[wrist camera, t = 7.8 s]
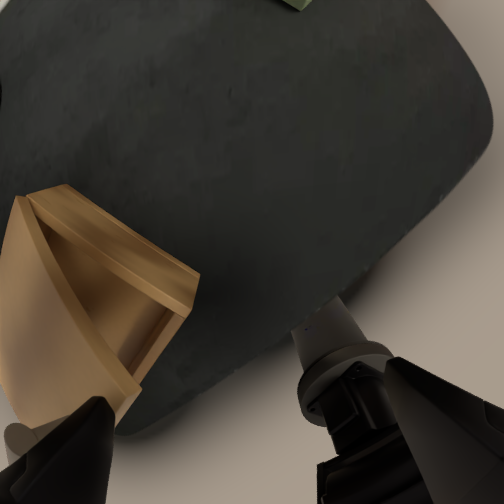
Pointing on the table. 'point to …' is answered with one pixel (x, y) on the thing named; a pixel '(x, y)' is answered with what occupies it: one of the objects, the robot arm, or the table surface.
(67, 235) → the wooden case
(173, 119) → the table surface
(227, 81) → the table surface
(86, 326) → the case lid
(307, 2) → the control block
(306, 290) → the table surface
